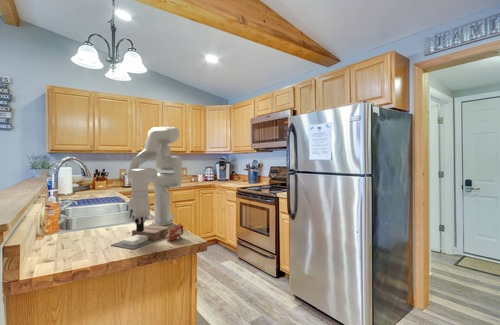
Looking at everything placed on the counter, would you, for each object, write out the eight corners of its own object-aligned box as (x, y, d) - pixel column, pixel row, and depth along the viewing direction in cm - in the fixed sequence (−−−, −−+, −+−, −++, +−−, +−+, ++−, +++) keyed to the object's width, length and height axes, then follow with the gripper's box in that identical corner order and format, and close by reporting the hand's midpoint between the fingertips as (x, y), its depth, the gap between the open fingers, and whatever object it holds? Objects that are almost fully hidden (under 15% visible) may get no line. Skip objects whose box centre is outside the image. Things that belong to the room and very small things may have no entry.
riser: (150, 231, 142) (150, 224, 142) (171, 234, 137) (171, 226, 137) (132, 238, 130) (131, 230, 130) (153, 241, 125) (153, 233, 125)
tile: (137, 238, 129) (137, 234, 129) (148, 240, 126) (148, 236, 126) (122, 244, 120) (122, 239, 120) (133, 245, 118) (133, 241, 118)
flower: (187, 232, 134) (178, 220, 134) (189, 233, 126) (179, 221, 125) (171, 245, 130) (162, 233, 130) (173, 247, 122) (162, 234, 121)
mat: (131, 238, 130) (131, 237, 130) (152, 241, 125) (152, 241, 125) (110, 245, 119) (110, 244, 119) (133, 249, 114) (133, 248, 114)
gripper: (145, 191, 134) (145, 226, 135) (121, 195, 121) (121, 234, 121) (156, 192, 131) (156, 228, 132) (133, 196, 118) (133, 236, 118)
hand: (140, 231), depth 126 cm, fingers closed
